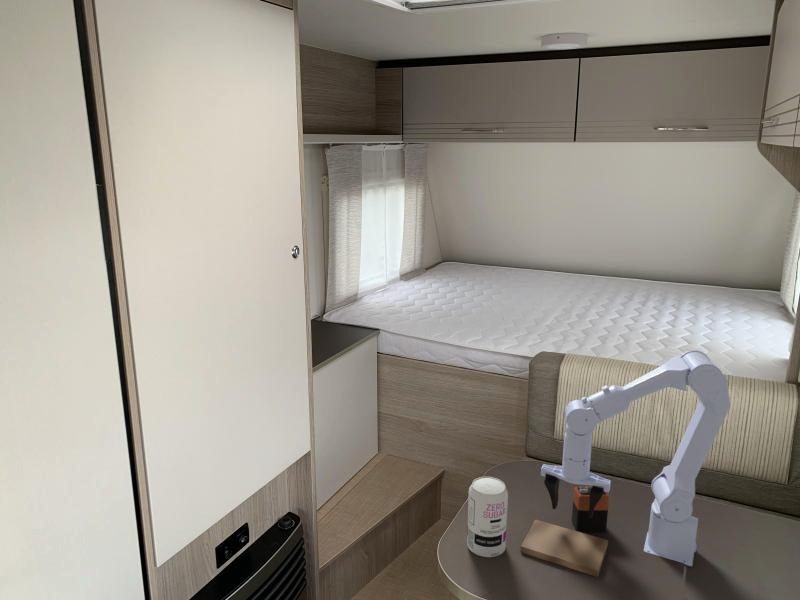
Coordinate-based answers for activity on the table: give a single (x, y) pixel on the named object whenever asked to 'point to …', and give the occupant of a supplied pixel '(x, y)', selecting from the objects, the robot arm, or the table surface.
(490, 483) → the supplement can
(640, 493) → the table surface
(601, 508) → the battery
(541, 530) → the wooden flat block
